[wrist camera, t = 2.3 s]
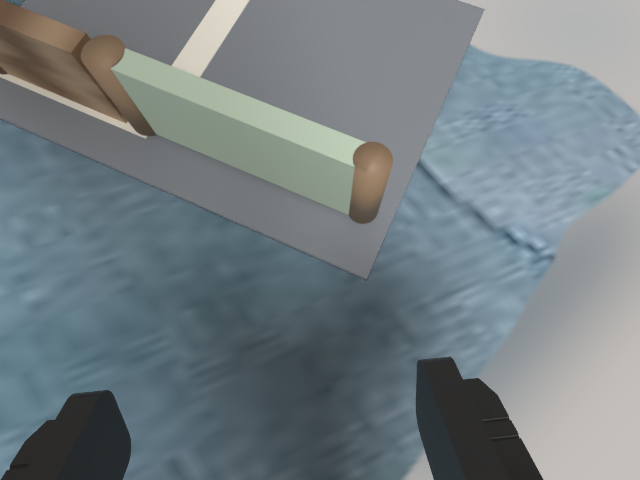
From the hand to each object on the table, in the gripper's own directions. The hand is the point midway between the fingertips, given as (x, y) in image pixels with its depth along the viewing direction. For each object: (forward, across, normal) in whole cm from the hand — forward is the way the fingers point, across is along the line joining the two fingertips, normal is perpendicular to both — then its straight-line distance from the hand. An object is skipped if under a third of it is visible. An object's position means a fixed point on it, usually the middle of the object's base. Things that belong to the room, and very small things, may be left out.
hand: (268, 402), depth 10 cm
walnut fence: (+27, +16, -5) cm, 31 cm away
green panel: (+21, +2, 0) cm, 21 cm away
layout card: (+29, +4, -6) cm, 29 cm away
